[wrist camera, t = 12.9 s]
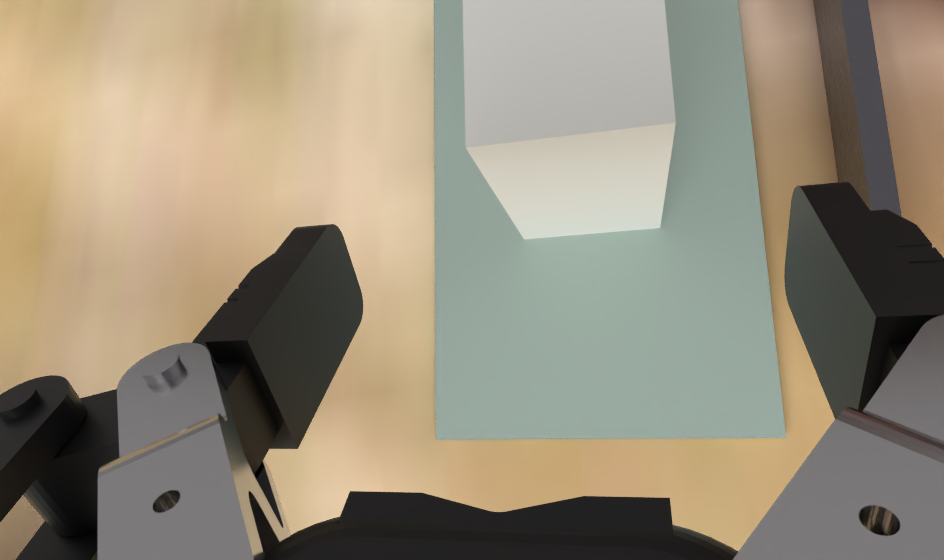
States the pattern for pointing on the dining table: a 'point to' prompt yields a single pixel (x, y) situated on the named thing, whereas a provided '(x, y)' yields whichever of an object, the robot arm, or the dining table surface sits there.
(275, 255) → the robot arm
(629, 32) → the block
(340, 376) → the dining table surface
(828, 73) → the brackets
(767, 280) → the mat
